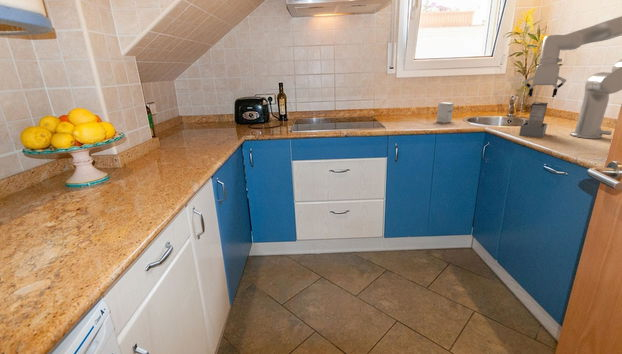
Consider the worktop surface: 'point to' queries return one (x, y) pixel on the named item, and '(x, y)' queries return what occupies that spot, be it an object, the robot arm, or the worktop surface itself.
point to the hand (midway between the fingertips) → (541, 96)
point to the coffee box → (537, 114)
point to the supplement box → (444, 112)
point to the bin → (532, 130)
